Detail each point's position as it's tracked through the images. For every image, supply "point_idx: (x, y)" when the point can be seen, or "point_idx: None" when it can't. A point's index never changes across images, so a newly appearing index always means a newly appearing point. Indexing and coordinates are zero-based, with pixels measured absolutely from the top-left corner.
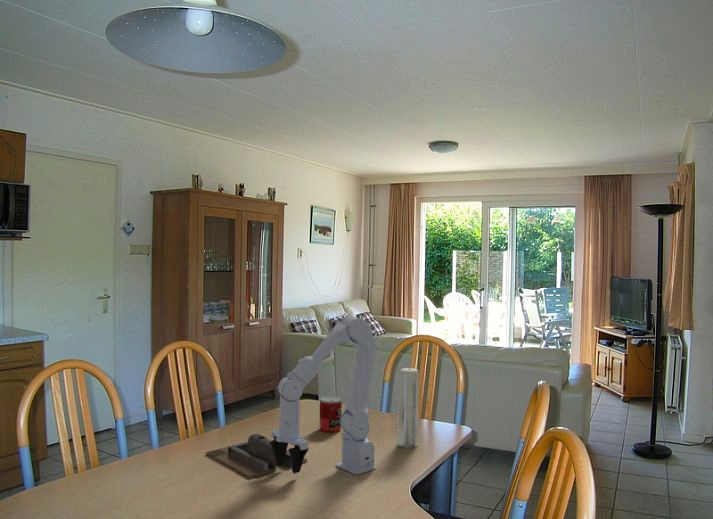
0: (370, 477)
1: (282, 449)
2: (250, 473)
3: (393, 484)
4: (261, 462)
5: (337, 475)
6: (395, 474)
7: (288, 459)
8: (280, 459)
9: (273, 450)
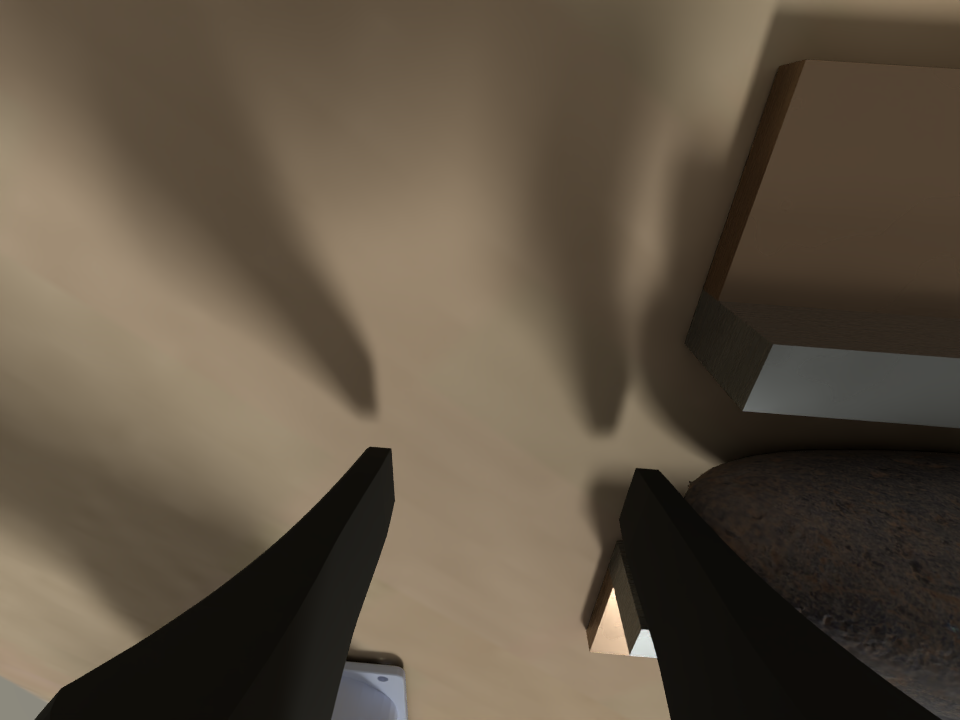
0: None
1: (696, 692)
2: (858, 138)
3: (31, 658)
4: (851, 362)
5: None
6: None
7: None
8: (656, 540)
9: (853, 627)
